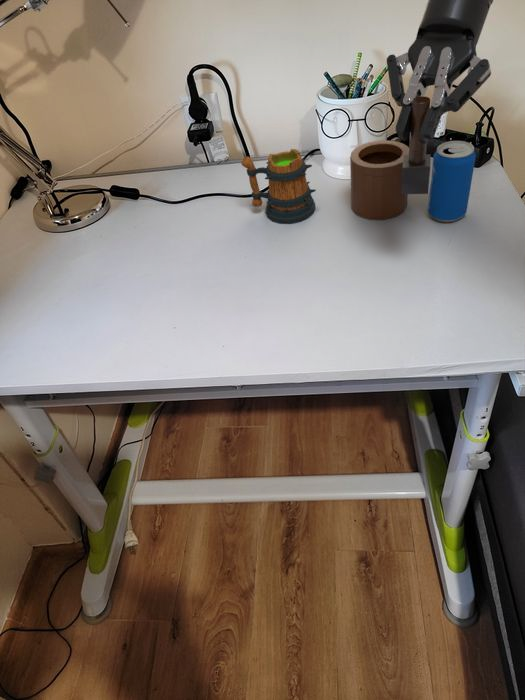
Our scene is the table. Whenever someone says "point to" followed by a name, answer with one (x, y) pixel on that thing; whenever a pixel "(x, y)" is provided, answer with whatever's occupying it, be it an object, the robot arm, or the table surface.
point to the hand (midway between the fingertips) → (412, 139)
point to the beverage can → (451, 180)
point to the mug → (283, 187)
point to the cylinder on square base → (416, 153)
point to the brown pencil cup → (378, 179)
